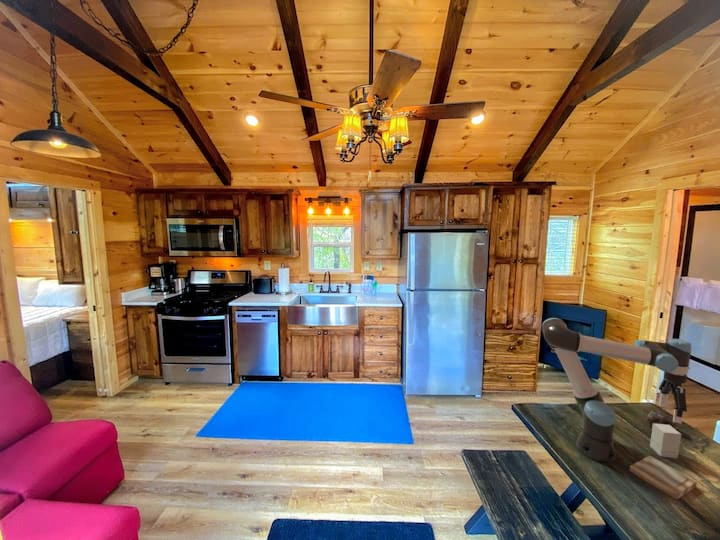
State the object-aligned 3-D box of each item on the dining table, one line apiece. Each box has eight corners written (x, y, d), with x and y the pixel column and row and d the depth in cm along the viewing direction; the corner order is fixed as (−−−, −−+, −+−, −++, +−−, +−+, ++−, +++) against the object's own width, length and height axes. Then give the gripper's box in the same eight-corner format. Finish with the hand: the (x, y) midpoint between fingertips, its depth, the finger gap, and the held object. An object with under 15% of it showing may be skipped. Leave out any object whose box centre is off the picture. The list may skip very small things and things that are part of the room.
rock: (674, 437, 161) (670, 427, 169) (680, 424, 159) (676, 414, 167) (644, 426, 168) (642, 416, 176) (650, 412, 166) (648, 404, 174)
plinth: (676, 499, 124) (677, 493, 123) (629, 470, 138) (630, 464, 138) (696, 486, 130) (697, 480, 129) (649, 460, 144) (649, 454, 144)
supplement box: (678, 458, 145) (682, 434, 143) (660, 456, 147) (663, 432, 145) (666, 447, 152) (670, 424, 150) (649, 445, 154) (652, 422, 152)
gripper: (702, 386, 131) (695, 432, 134) (673, 362, 153) (667, 402, 156) (678, 382, 134) (672, 427, 137) (653, 360, 156) (648, 399, 159)
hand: (669, 414), depth 146 cm, fingers open, 13 cm apart
